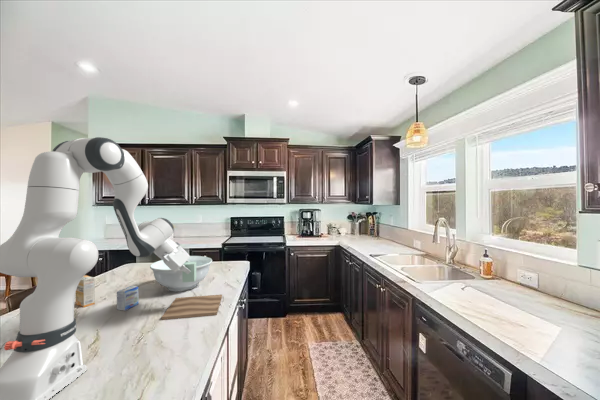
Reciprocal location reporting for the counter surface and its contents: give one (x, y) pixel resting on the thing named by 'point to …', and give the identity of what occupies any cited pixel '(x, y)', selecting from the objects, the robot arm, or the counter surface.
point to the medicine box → (127, 298)
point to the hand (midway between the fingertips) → (191, 270)
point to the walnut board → (193, 307)
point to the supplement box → (85, 291)
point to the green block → (192, 275)
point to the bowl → (180, 274)
